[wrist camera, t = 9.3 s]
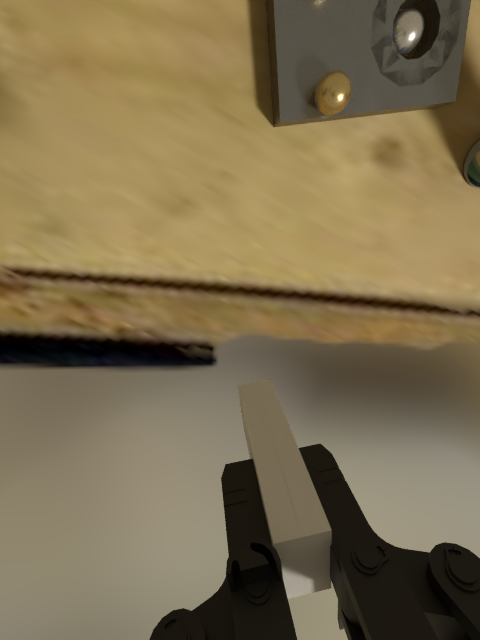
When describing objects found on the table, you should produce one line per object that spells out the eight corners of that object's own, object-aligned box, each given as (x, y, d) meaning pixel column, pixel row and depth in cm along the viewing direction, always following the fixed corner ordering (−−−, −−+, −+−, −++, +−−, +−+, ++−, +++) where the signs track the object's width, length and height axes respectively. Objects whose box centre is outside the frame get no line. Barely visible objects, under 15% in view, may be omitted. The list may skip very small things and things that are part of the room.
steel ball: (390, 63, 31) (378, 58, 29) (393, 22, 29) (380, 13, 27) (426, 51, 28) (415, 44, 26) (430, 6, 27) (420, -5, 25)
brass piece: (309, 120, 29) (322, 112, 26) (309, 78, 27) (322, 65, 25) (341, 116, 29) (358, 108, 26) (342, 75, 28) (360, 62, 25)
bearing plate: (273, 127, 31) (280, 122, 28) (263, -37, 26) (270, -59, 23) (437, 107, 32) (455, 101, 30) (457, -51, 27) (481, -73, 25)
